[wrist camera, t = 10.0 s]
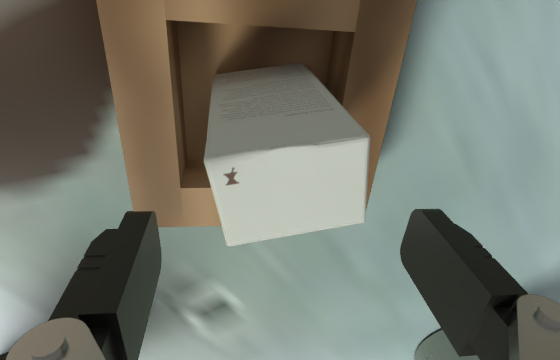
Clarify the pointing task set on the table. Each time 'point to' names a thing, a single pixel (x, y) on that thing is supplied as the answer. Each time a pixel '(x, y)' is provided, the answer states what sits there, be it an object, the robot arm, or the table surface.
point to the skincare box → (283, 155)
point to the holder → (230, 58)
